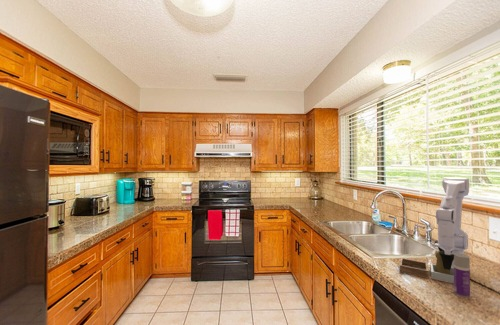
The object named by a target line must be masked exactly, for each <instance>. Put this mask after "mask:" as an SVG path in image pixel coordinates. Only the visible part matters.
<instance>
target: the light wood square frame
mask: <svg viewBox="0 0 500 325" xmlns="http://www.w3.org/2000/svg"><path fill="white" fill-rule="evenodd" d="M399 261H400V262H399V266H398V267H399V272H400V273H403V274H409V275H414V276H418V277H422V278H426V279H427V278H430V277H429V276H430V275H429V273H430V270H429V264H428V262H424V261H420V260H413V259H409V258H403V257H400V260H399Z"/></svg>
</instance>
